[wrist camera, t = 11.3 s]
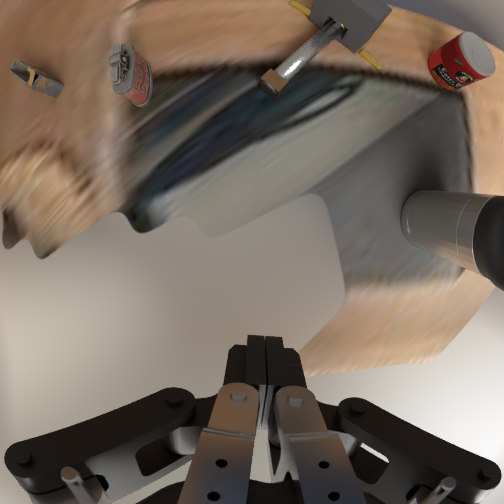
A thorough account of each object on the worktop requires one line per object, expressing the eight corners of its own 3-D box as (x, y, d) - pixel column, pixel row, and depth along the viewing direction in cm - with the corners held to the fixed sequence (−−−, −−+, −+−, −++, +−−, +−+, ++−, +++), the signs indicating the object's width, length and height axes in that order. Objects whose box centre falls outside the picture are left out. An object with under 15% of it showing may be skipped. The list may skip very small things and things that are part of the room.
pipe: (317, 135, 37) (323, 129, 33) (221, 61, 35) (217, 49, 31) (398, 49, 33) (409, 39, 29) (314, -14, 31) (318, -27, 27)
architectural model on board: (66, 83, 35) (34, 69, 26) (57, 98, 36) (24, 86, 26) (40, 66, 34) (10, 53, 25) (31, 79, 35) (1, 68, 25)
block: (354, 53, 33) (378, 21, 23) (308, 19, 32) (320, -19, 22) (367, 41, 33) (392, 9, 22) (322, 8, 32) (337, -29, 21)
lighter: (132, 65, 35) (104, 40, 25) (152, 60, 35) (127, 32, 25) (133, 109, 36) (101, 91, 27) (153, 104, 36) (125, 83, 27)
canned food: (424, 77, 34) (460, 56, 23) (428, 45, 32) (460, 21, 21) (457, 99, 34) (496, 85, 23) (460, 67, 32) (494, 49, 22)
